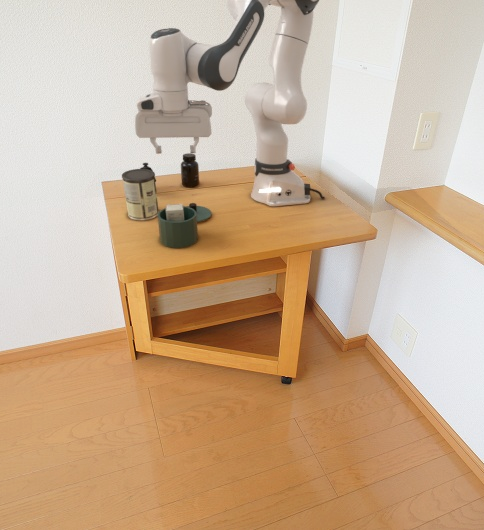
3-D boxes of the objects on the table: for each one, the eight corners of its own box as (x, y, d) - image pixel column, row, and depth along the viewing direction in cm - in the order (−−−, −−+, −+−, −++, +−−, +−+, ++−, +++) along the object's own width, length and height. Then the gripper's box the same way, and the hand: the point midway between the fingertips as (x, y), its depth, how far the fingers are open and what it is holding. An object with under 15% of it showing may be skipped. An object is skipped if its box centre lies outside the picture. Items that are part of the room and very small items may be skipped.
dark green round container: (198, 230, 130) (196, 205, 125) (197, 248, 120) (196, 222, 116) (162, 230, 129) (159, 206, 124) (158, 248, 119) (155, 222, 115)
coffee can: (136, 206, 143) (131, 167, 136) (163, 209, 142) (160, 170, 134) (121, 218, 135) (115, 177, 127) (150, 222, 133) (146, 181, 126)
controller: (152, 185, 160) (149, 160, 154) (158, 197, 150) (156, 171, 145) (141, 186, 158) (138, 161, 153) (147, 199, 149) (144, 172, 143)
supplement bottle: (201, 187, 160) (199, 157, 153) (183, 189, 158) (181, 158, 151) (197, 181, 165) (195, 151, 159) (180, 182, 163) (178, 152, 157)
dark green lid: (211, 208, 144) (211, 196, 142) (211, 224, 134) (211, 212, 132) (176, 208, 143) (175, 197, 140) (173, 224, 133) (172, 212, 130)
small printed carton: (185, 233, 127) (183, 203, 121) (186, 240, 123) (184, 209, 118) (168, 234, 126) (165, 204, 121) (168, 241, 122) (165, 210, 117)
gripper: (211, 97, 110) (213, 148, 118) (133, 98, 108) (140, 149, 116) (211, 103, 105) (213, 155, 113) (130, 103, 103) (137, 157, 110)
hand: (176, 152), depth 114 cm, fingers open, 8 cm apart
